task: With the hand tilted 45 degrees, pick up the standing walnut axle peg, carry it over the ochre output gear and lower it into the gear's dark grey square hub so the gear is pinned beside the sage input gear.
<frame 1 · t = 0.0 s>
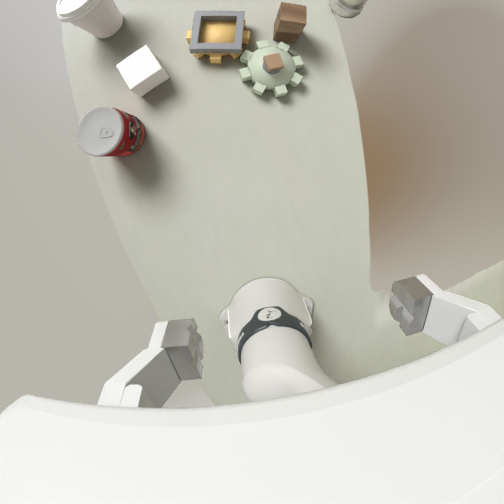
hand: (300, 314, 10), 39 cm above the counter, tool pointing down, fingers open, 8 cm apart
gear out: (218, 38, 37), on the counter
canned food: (126, 135, 42), on the counter
white cube: (148, 76, 39), on the counter
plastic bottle: (340, 9, 35), on the counter
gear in: (270, 70, 40), on the counter
coffee cup: (109, 25, 34), on the counter
peg: (284, 33, 37), on the counter
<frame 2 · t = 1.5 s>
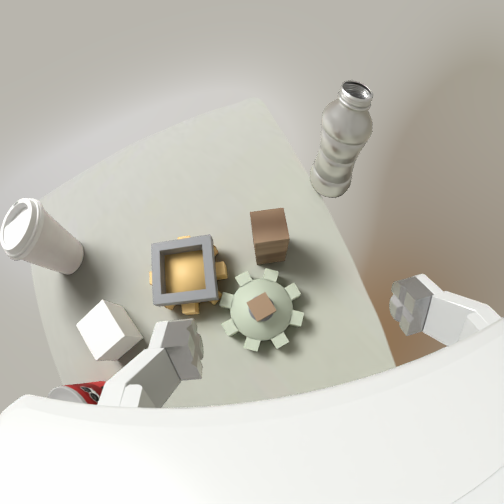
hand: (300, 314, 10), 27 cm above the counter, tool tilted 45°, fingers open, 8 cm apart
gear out: (190, 277, 39), on the counter
canned food: (110, 403, 33), on the counter
white cube: (120, 333, 37), on the counter
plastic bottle: (327, 185, 43), on the counter
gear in: (261, 311, 37), on the counter
coffee cup: (71, 257, 41), on the counter
peg: (268, 249, 40), on the counter
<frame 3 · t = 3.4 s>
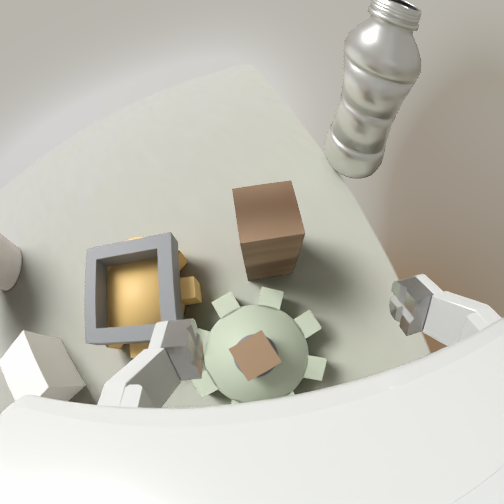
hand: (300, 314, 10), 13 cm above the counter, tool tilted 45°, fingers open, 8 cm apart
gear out: (146, 300, 24), on the counter
white cube: (59, 375, 22), on the counter
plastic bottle: (348, 163, 29), on the counter
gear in: (256, 355, 22), on the counter
coffee cup: (10, 268, 26), on the counter
peg: (266, 256, 25), on the counter
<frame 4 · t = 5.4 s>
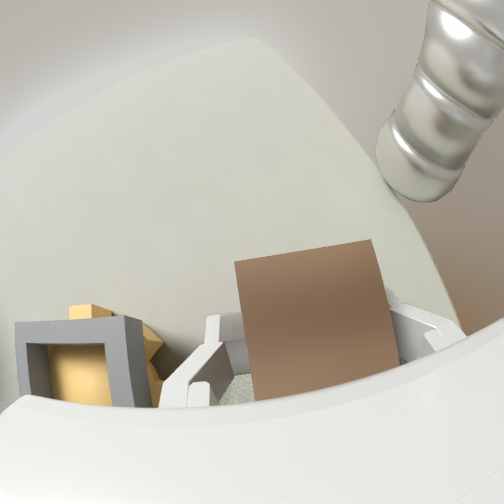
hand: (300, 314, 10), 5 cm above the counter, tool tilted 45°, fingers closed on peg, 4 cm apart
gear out: (108, 393, 14), on the counter
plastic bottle: (404, 176, 18), on the counter
peg: (291, 336, 15), on the counter, touching gripper
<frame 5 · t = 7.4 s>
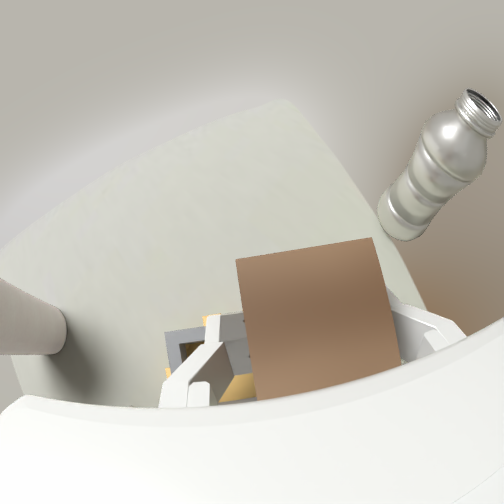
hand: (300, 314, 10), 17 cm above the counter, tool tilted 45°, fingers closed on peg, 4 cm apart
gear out: (225, 369, 26), on the counter
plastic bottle: (394, 222, 31), on the counter
coffee cup: (51, 330, 28), on the counter
peg: (291, 335, 15), point 12 cm above the counter, touching gripper
when the fingers open (8 cm above the counter, at t = 9.7 s): peg drops 1 cm, resting on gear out.
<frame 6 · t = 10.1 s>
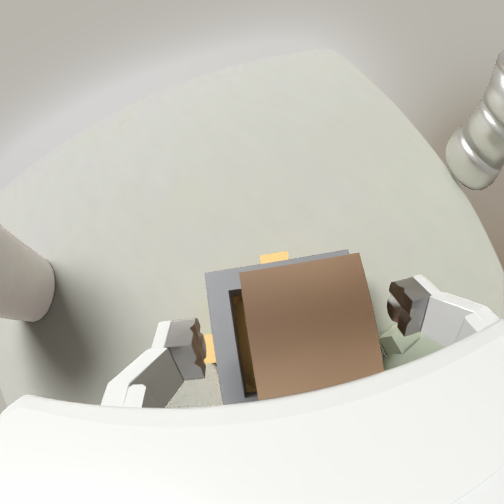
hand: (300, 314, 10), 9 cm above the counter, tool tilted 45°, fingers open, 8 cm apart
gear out: (285, 338, 18), on the counter
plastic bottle: (460, 172, 23), on the counter
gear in: (417, 384, 16), on the counter
coffee cup: (35, 289, 20), on the counter
peg: (289, 337, 16), point 2 cm above the counter, touching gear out
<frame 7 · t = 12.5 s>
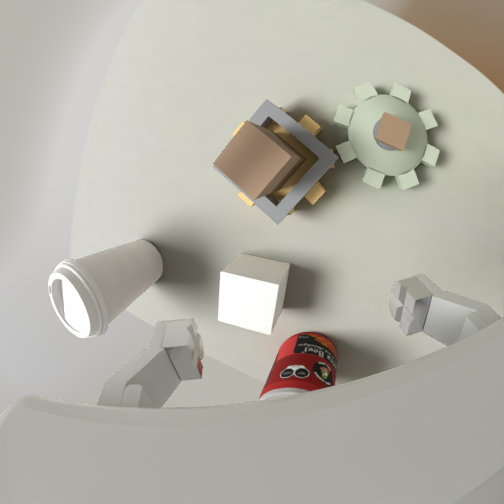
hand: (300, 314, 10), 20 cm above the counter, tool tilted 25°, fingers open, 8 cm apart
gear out: (282, 161, 28), on the counter
canned food: (308, 352, 34), on the counter
white cube: (262, 280, 33), on the counter
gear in: (385, 136, 24), on the counter
coffee cup: (146, 260, 38), on the counter
peg: (277, 160, 26), point 2 cm above the counter, touching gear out
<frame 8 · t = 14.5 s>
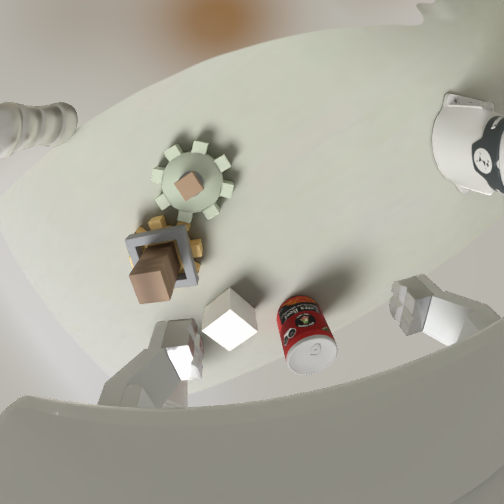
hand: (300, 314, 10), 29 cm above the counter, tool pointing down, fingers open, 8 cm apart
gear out: (167, 250, 40), on the counter
canned food: (297, 312, 47), on the counter
white cube: (229, 307, 45), on the counter
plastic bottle: (66, 124, 30), on the counter
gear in: (193, 179, 36), on the counter
coffee cup: (171, 359, 50), on the counter
peg: (164, 256, 38), point 2 cm above the counter, touching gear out
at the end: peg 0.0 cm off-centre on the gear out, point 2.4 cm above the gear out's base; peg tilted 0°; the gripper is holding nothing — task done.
